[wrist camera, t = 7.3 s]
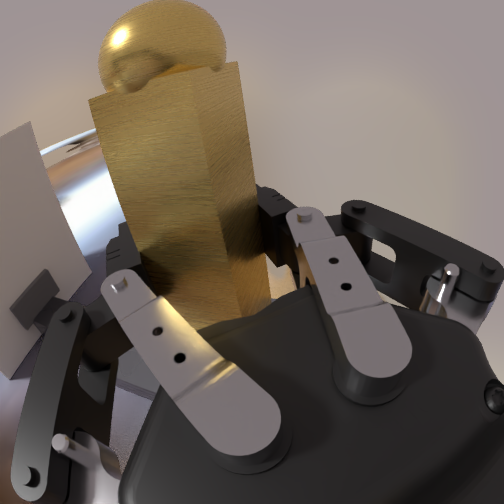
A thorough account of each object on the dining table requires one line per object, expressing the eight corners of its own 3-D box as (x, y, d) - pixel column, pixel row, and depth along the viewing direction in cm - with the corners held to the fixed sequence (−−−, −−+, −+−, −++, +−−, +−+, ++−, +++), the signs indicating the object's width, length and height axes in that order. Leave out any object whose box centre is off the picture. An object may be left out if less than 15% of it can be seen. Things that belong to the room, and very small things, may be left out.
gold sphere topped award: (120, 396, 16) (-46, 103, 5) (167, 316, 21) (78, 57, 10) (281, 444, 13) (191, -68, 2) (307, 338, 18) (284, -4, 7)
